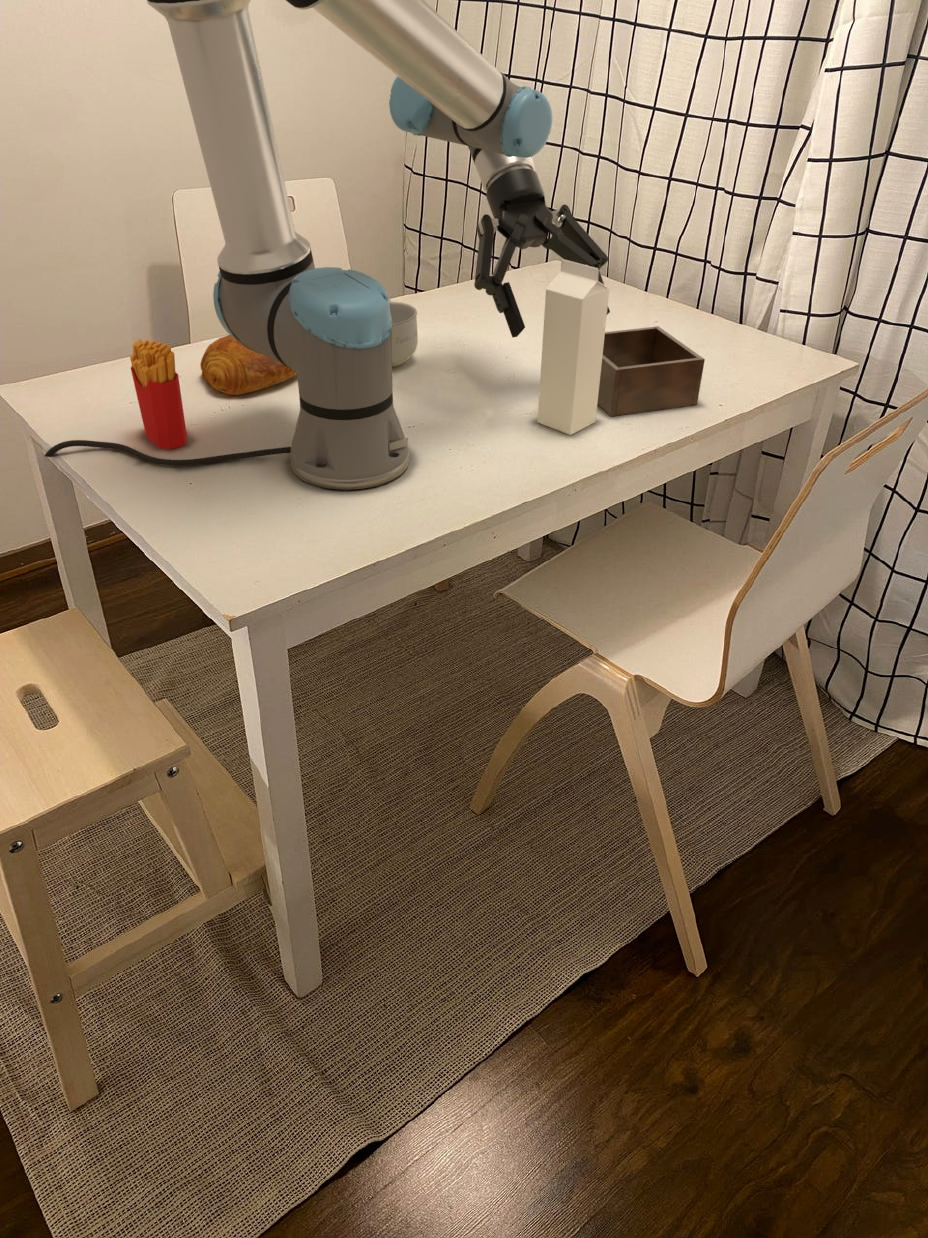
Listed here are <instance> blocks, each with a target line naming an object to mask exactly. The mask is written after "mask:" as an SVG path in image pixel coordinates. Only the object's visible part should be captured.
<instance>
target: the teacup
mask: <svg viewBox="0 0 928 1238" xmlns="http://www.w3.org/2000/svg"><path fill="white" fill-rule="evenodd" d="M389 306H390V313H391V317H392V368H393V367H399V366H401V365H403V364H404V363H406V361H407V360H408V359H409V358H411V356H413V354H414V353H415V352H416V350H417V346H418V321H417V319H418V317H417V316H418V310H417V308H416V307H415V306H413V305H412V304H409V303H406V302H401V301H400V302H399V301H392V300H391V298H389Z"/></svg>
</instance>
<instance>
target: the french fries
mask: <svg viewBox="0 0 928 1238" xmlns="http://www.w3.org/2000/svg"><path fill="white" fill-rule="evenodd" d="M131 347H132V349H133V350H132V354H131V355H130V356H129V359H130V363H131V366H130V371H131V372H130V373H131V376H132V380H133V385H134V390H135V395H136V398H137V402H138V403H137V404H138V406H139V411H140V415H141V420H142V424H143V429H144V433H145V437H146V438H147V439H148V440H149V441H150V442H151V443H152V444H153V445H154V446H156V447H158V448H159V449H164V450H174V449H177V448H180V447H184V446H185V445H187V442H188V434H187V427H186V421H185V415H184V414H185V413H184V405H183V400H182V393H181V387H180V385H181V384H180V378H179V374H178V372H176V358H175V352H173V351H172V347H171V346H170V345H168V344H167V343H166V342H164V343H163V344H162V342H161V341H158V342H156V340H155V339H152V340H150V341H149V339H148V338H147V339H145V340H143V341H142V339H141V338H138V339H137V340H136V341H134V343H133V344H132V345H131Z"/></svg>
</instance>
